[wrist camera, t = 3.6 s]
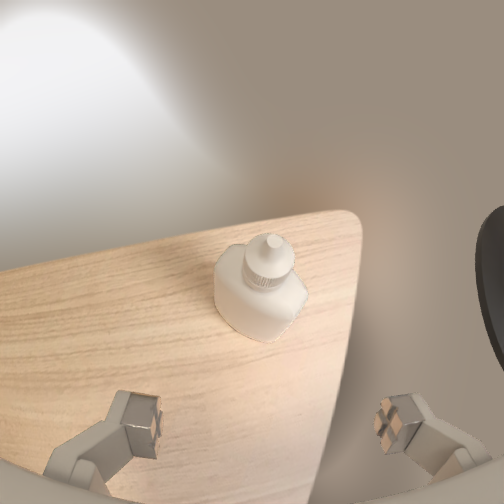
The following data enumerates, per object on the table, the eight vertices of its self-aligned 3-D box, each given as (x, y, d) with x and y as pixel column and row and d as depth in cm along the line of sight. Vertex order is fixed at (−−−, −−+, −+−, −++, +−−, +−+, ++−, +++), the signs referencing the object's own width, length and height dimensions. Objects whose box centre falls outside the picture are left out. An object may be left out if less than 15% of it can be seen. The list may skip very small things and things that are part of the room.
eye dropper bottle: (258, 273, 26) (285, 178, 16) (291, 333, 24) (349, 275, 14) (209, 294, 25) (202, 208, 14) (241, 359, 23) (260, 320, 12)
